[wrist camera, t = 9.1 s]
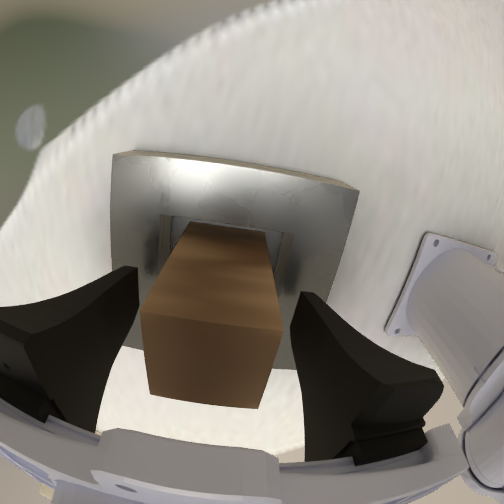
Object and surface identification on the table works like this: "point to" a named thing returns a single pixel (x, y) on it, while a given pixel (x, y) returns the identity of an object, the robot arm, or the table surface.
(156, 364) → the peg
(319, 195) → the collar
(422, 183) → the table surface
